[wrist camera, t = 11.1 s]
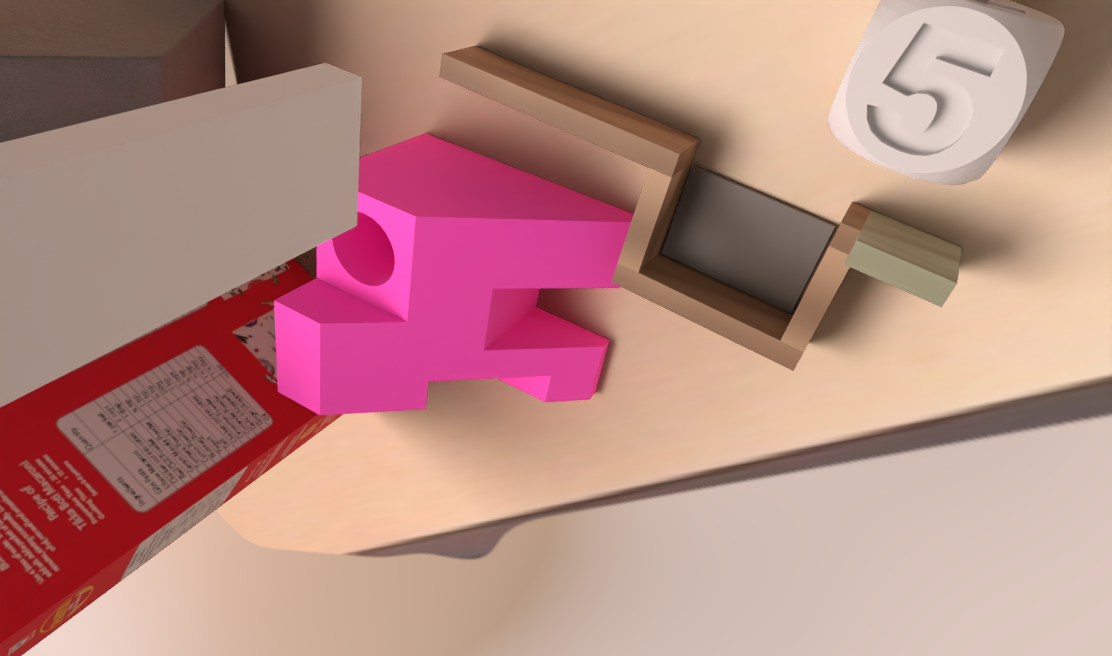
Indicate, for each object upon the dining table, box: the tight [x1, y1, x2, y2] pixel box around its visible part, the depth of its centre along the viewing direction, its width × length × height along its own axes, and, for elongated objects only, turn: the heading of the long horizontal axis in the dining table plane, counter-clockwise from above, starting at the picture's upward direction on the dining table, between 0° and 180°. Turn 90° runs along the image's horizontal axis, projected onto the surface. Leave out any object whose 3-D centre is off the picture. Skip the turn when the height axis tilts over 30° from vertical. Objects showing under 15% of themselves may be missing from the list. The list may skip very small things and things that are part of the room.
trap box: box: [439, 46, 962, 371], centre depth 26 cm, size 24×22×4 cm
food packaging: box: [0, 258, 343, 656], centre depth 38 cm, size 15×5×25 cm, turn 51°
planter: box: [0, 0, 225, 143], centre depth 36 cm, size 17×8×21 cm
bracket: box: [274, 133, 634, 415], centre depth 34 cm, size 12×10×10 cm
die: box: [828, 0, 1065, 185], centre depth 24 cm, size 5×5×5 cm
